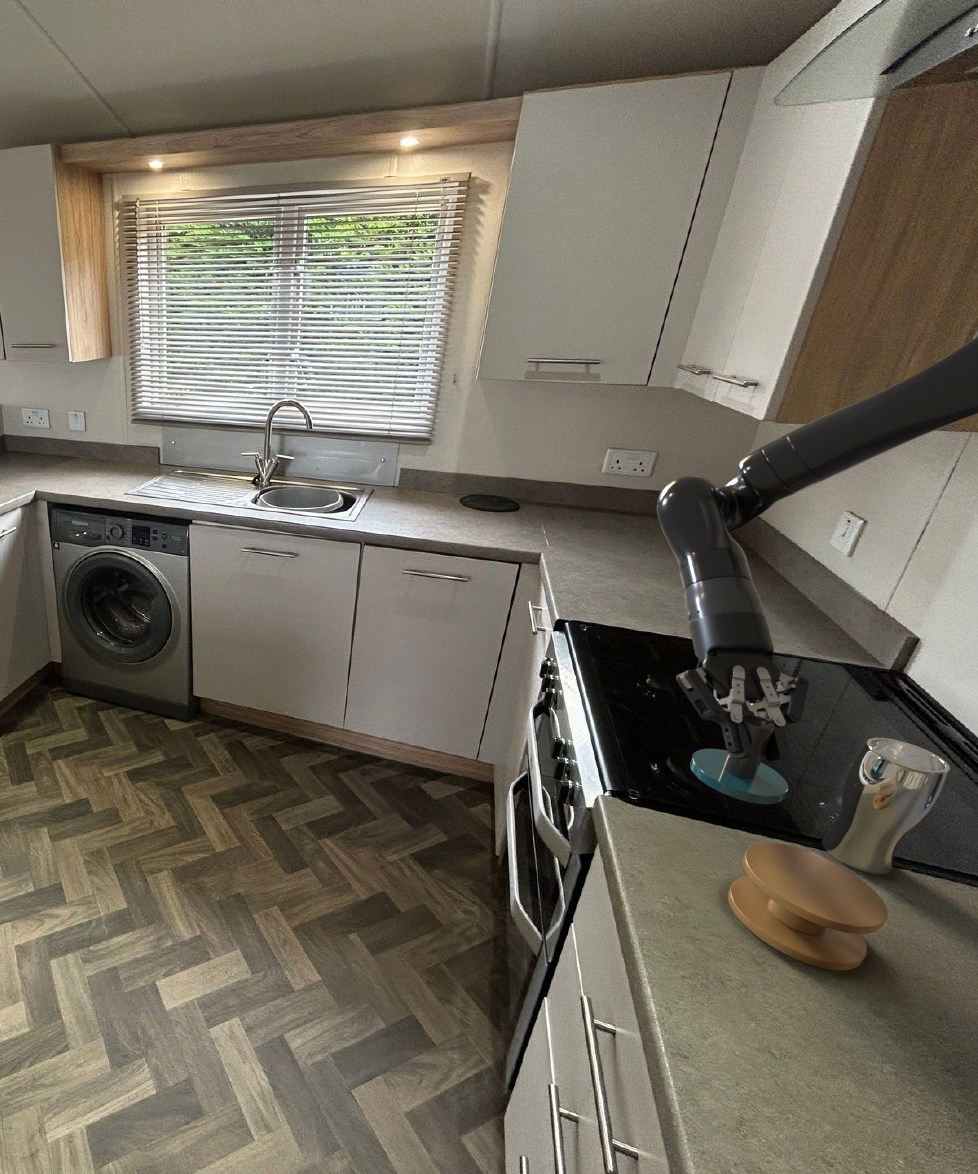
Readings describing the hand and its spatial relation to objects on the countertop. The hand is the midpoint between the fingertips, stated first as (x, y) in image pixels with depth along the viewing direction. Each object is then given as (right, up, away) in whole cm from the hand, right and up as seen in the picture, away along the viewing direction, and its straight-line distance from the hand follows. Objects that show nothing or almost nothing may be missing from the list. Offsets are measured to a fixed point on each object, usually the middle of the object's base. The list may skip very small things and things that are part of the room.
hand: (759, 758), depth 72 cm
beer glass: (+16, -13, +5) cm, 21 cm away
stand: (-1, -17, -5) cm, 17 cm away
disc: (0, -3, +4) cm, 5 cm away
